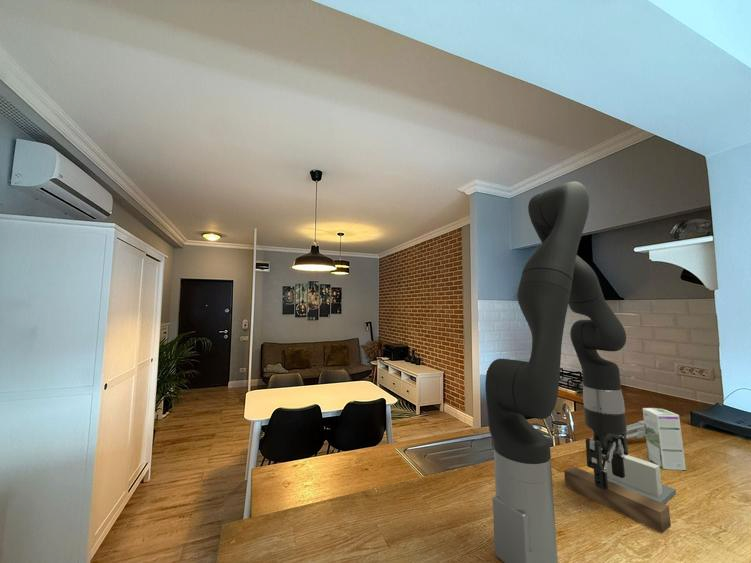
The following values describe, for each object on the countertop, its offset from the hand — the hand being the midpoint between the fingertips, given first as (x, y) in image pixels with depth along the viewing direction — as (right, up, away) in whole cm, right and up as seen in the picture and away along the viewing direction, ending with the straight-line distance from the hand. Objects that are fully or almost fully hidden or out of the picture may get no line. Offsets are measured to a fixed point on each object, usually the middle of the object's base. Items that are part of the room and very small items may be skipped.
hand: (610, 481), depth 66 cm
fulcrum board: (+9, -5, +5) cm, 11 cm away
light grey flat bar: (+31, -8, +29) cm, 44 cm away
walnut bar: (0, -5, -1) cm, 5 cm away
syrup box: (+28, -6, +16) cm, 33 cm away
